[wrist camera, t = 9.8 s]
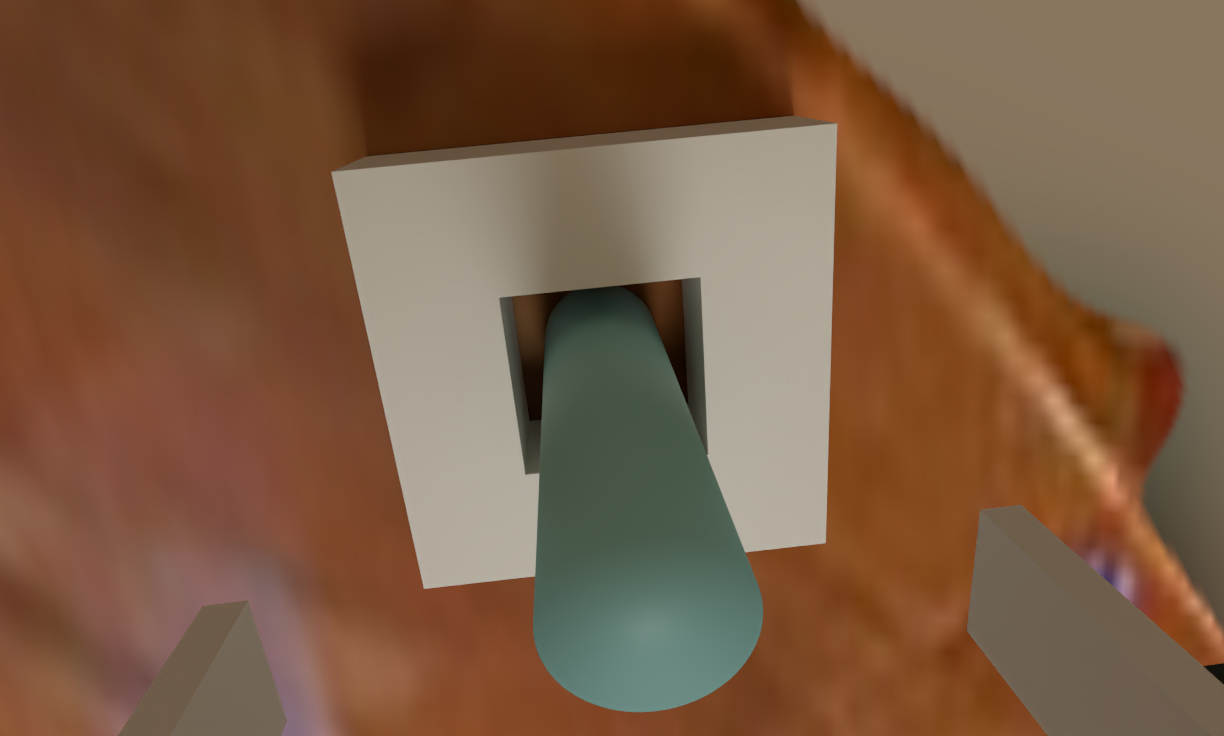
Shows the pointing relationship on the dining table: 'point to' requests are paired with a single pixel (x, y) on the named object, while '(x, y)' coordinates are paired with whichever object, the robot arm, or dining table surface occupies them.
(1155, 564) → the dining table surface
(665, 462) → the peg
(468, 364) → the socket block
